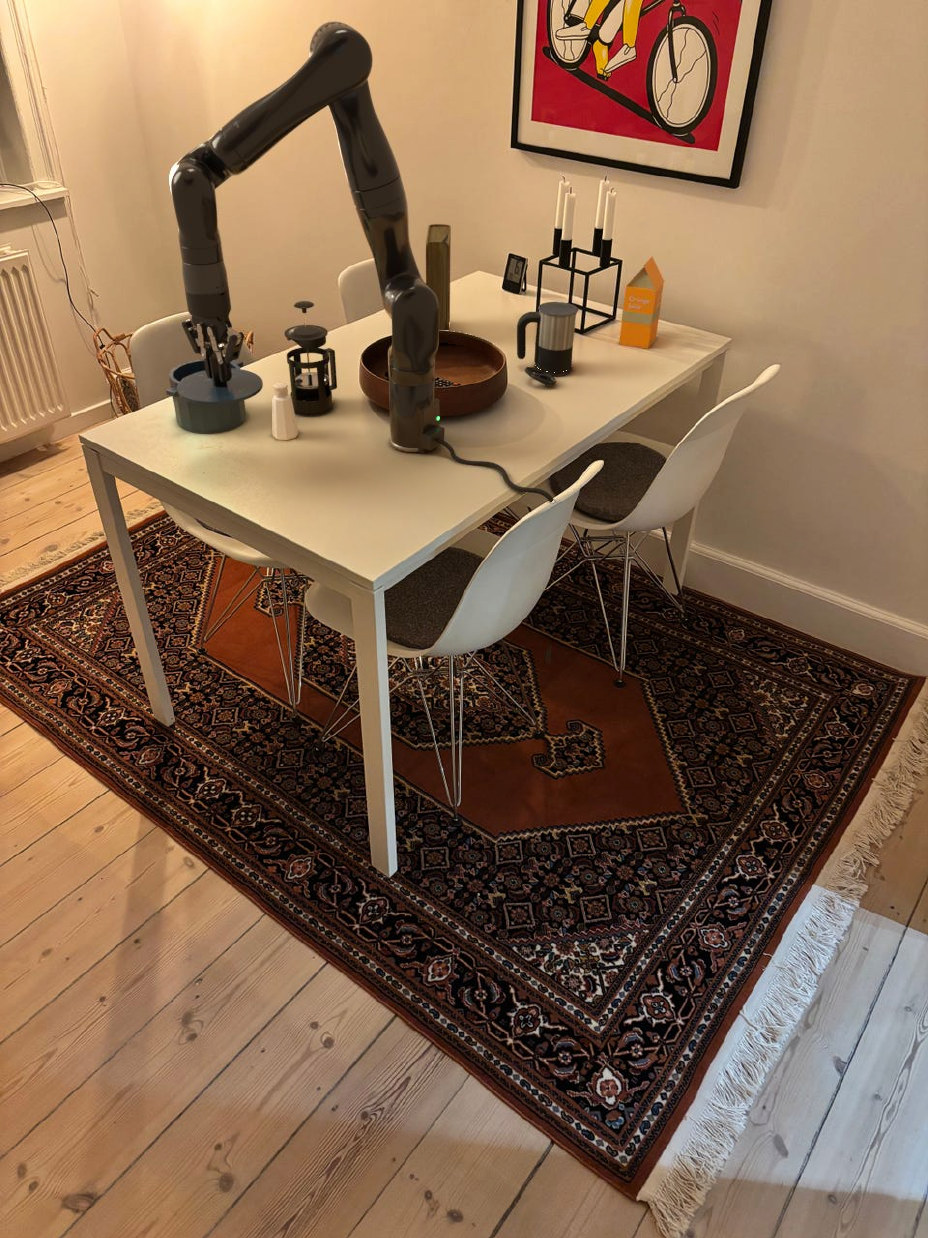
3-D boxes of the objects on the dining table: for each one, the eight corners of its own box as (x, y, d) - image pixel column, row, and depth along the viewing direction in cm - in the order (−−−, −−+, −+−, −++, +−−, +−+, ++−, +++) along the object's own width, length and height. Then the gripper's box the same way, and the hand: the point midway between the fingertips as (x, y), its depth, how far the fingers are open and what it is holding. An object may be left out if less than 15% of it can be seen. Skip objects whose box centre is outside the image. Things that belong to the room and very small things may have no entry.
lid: (280, 386, 183) (277, 351, 179) (221, 415, 172) (216, 379, 168) (220, 367, 189) (215, 334, 185) (160, 394, 179) (153, 359, 175)
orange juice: (618, 343, 245) (627, 263, 233) (627, 332, 252) (637, 253, 240) (648, 348, 243) (659, 267, 231) (656, 337, 249) (668, 257, 237)
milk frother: (565, 360, 236) (569, 299, 227) (588, 385, 224) (595, 322, 215) (509, 365, 233) (512, 304, 224) (530, 391, 221) (534, 327, 212)
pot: (268, 410, 210) (263, 364, 204) (203, 444, 197) (195, 396, 191) (220, 394, 216) (213, 350, 210) (153, 426, 203) (144, 379, 197)
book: (429, 322, 255) (428, 223, 240) (449, 323, 255) (450, 224, 240) (426, 345, 242) (425, 242, 227) (448, 346, 242) (449, 243, 227)
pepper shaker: (271, 430, 202) (265, 380, 196) (297, 427, 204) (292, 378, 197) (273, 441, 198) (267, 391, 192) (300, 439, 199) (295, 388, 193)
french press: (304, 421, 206) (294, 314, 192) (279, 407, 212) (268, 302, 198) (348, 406, 213) (342, 302, 199) (323, 392, 218) (315, 290, 204)
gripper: (161, 283, 170) (177, 377, 180) (220, 298, 164) (233, 394, 174) (193, 272, 175) (206, 364, 185) (250, 287, 169) (261, 381, 179)
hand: (219, 378), depth 179 cm, fingers closed on lid, 2 cm apart
